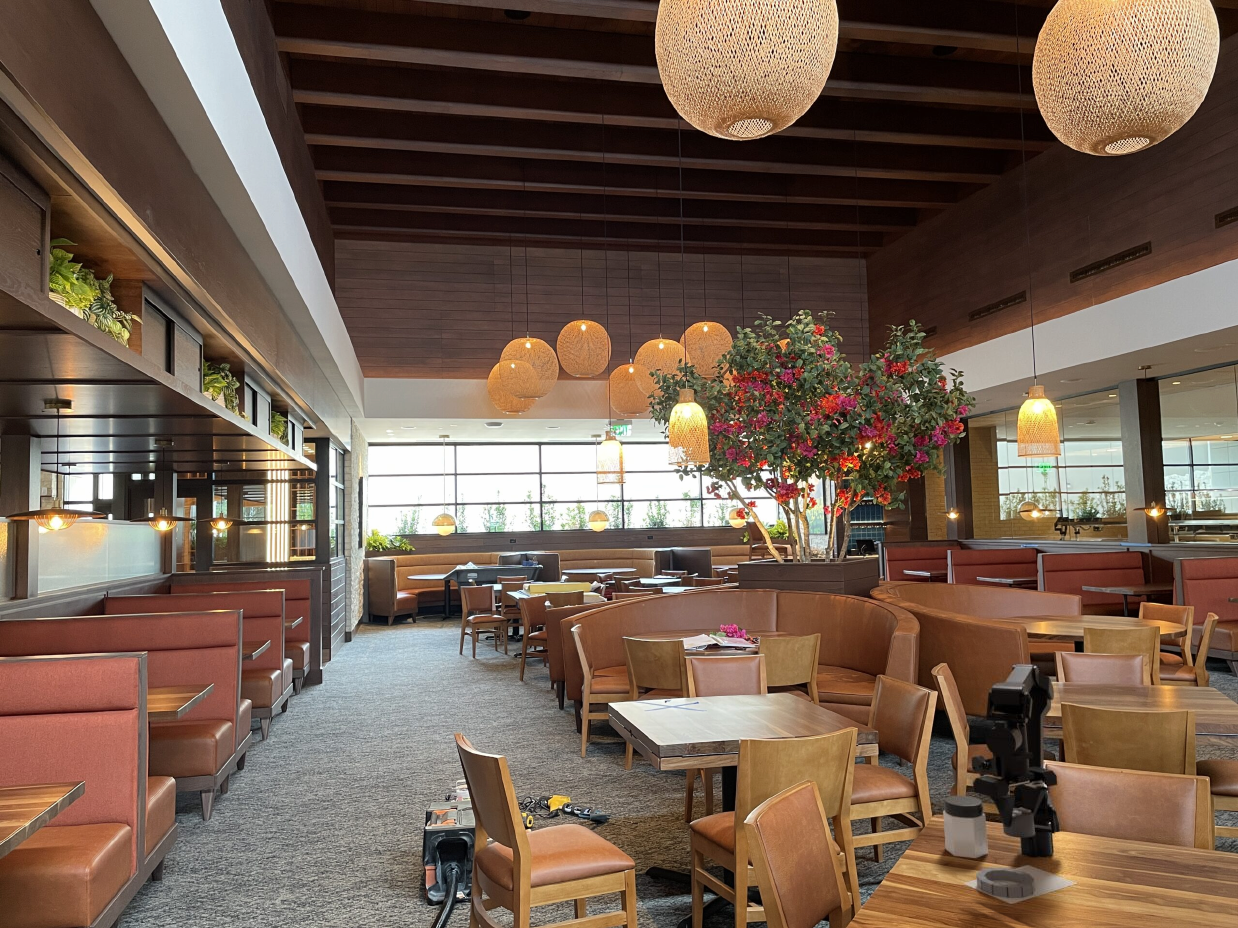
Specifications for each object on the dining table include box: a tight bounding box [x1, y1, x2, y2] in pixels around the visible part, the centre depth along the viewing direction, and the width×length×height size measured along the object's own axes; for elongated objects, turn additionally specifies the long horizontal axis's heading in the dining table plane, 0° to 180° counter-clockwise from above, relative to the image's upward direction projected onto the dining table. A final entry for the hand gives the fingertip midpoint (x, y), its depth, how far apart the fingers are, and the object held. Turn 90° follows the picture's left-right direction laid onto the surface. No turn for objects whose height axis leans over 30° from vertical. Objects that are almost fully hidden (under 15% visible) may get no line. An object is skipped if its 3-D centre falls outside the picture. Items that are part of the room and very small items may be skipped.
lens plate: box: [962, 864, 1079, 905], centre depth 182 cm, size 19×12×3 cm, turn 116°
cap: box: [1001, 807, 1035, 839], centre depth 186 cm, size 6×6×4 cm
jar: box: [942, 795, 989, 859], centre depth 202 cm, size 9×8×12 cm
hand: (1018, 823), depth 186 cm, fingers closed on cap, 6 cm apart
